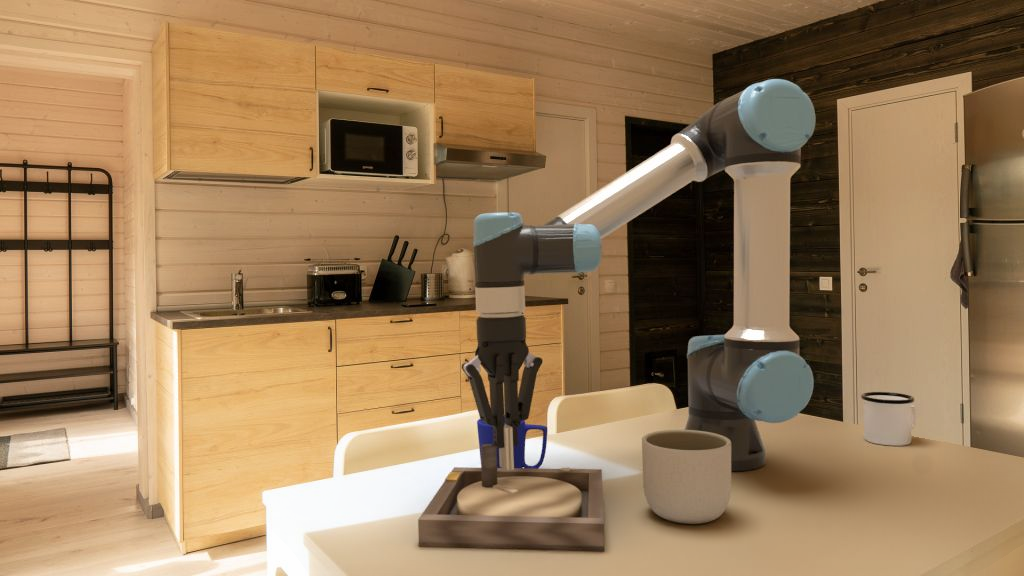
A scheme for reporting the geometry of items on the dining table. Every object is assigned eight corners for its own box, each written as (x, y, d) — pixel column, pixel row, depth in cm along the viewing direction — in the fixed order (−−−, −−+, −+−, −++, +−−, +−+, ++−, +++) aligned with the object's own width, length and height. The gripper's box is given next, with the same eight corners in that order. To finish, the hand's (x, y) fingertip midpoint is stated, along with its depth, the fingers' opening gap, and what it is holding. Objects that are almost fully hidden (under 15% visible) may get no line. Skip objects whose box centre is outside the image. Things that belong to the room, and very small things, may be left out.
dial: (607, 510, 103) (606, 452, 102) (517, 545, 90) (516, 480, 90) (521, 484, 116) (520, 432, 115) (432, 511, 103) (431, 454, 103)
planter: (717, 537, 94) (717, 455, 93) (629, 520, 100) (628, 444, 100) (741, 508, 104) (741, 435, 104) (660, 495, 111) (659, 426, 110)
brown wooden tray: (602, 490, 114) (601, 467, 113) (604, 551, 90) (603, 521, 90) (454, 488, 116) (454, 465, 116) (418, 546, 92) (418, 517, 92)
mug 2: (888, 449, 135) (888, 402, 135) (850, 438, 144) (850, 393, 144) (935, 442, 139) (935, 397, 139) (895, 432, 148) (895, 389, 148)
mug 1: (544, 487, 116) (543, 426, 116) (472, 484, 118) (471, 424, 118) (551, 472, 124) (550, 416, 124) (484, 470, 126) (483, 414, 126)
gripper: (527, 310, 114) (532, 455, 115) (452, 316, 109) (459, 468, 110) (549, 313, 107) (554, 467, 108) (471, 319, 102) (477, 481, 103)
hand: (506, 467), depth 109 cm, fingers closed
